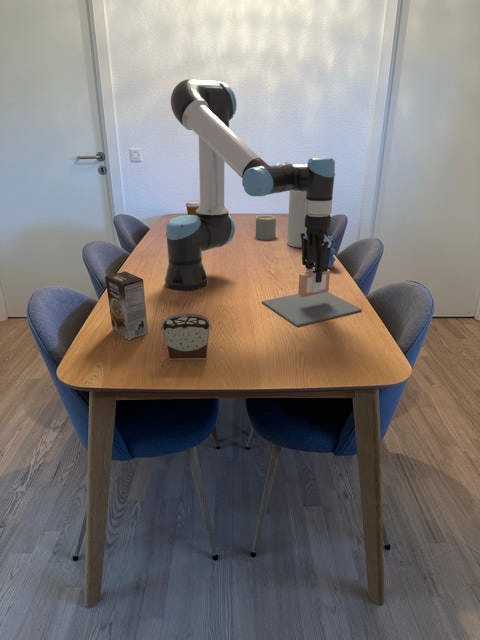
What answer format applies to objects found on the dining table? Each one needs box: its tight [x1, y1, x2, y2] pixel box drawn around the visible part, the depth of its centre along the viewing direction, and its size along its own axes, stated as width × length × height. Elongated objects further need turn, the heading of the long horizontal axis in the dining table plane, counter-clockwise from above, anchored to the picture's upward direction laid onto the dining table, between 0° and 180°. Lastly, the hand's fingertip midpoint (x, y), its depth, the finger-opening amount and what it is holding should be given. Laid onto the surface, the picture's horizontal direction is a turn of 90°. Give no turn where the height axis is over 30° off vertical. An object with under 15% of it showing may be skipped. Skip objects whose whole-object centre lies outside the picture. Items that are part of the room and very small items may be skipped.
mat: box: [261, 291, 363, 328], centre depth 136 cm, size 24×20×1 cm
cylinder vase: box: [286, 190, 307, 249], centre depth 199 cm, size 12×12×25 cm
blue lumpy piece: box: [328, 235, 337, 269], centre depth 172 cm, size 12×7×12 cm, turn 4°
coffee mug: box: [255, 214, 277, 241], centre depth 216 cm, size 13×10×10 cm
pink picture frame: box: [297, 269, 331, 297], centre depth 135 cm, size 10×2×7 cm, turn 118°
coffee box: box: [104, 270, 149, 340], centre depth 117 cm, size 9×6×16 cm
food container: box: [160, 312, 213, 361], centre depth 108 cm, size 12×6×10 cm, turn 92°
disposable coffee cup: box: [185, 200, 200, 216], centre depth 242 cm, size 10×10×12 cm
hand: (312, 290), depth 136 cm, fingers closed on pink picture frame, 2 cm apart
